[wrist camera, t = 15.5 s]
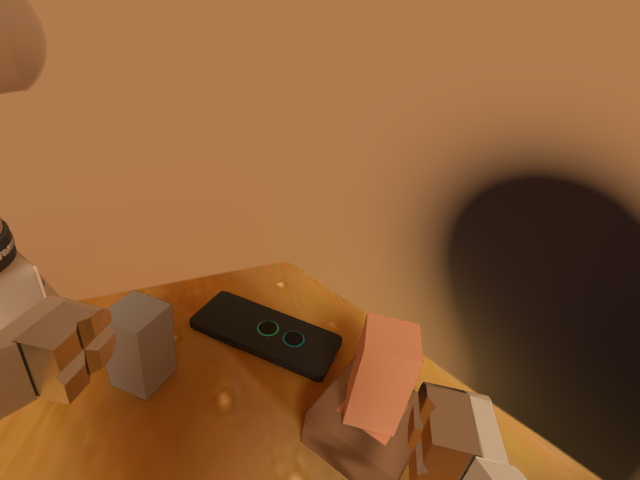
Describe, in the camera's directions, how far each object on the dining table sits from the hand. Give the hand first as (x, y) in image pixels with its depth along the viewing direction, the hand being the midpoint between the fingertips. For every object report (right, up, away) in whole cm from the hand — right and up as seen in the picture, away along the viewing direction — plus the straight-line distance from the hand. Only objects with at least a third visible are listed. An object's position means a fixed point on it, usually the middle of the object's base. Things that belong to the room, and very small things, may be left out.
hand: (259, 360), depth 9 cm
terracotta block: (+7, -14, +28) cm, 32 cm away
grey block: (-19, -13, +34) cm, 41 cm away
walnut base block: (+6, -19, +31) cm, 37 cm away
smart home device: (-6, -11, +42) cm, 44 cm away
